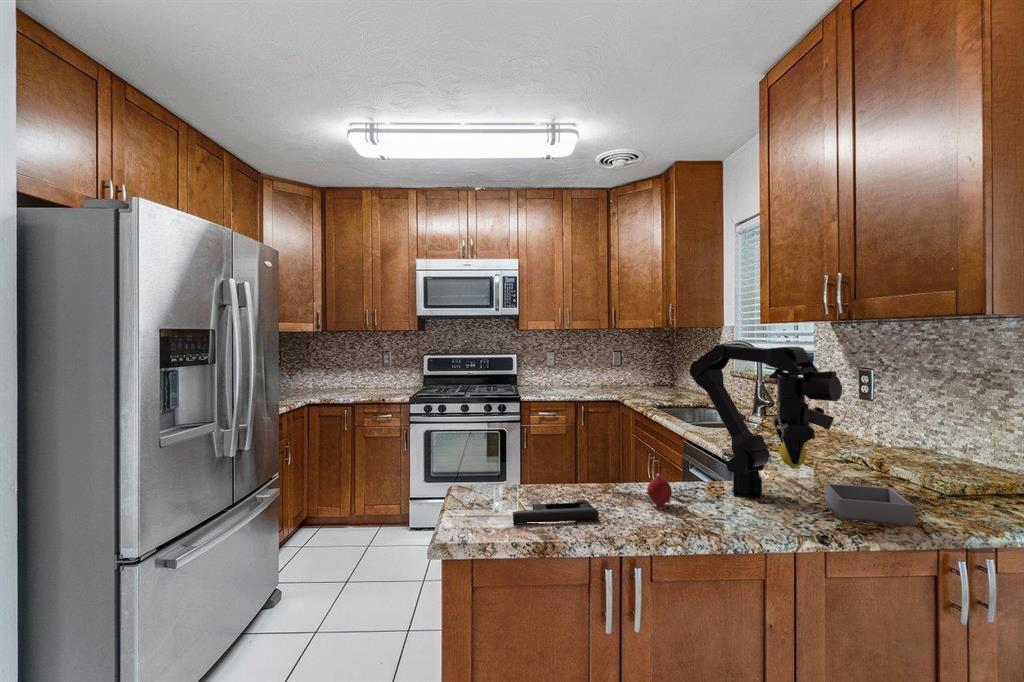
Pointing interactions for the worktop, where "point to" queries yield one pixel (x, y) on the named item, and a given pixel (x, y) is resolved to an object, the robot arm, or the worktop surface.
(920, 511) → the worktop surface
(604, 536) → the worktop surface
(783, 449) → the lemon
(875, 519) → the box
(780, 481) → the worktop surface
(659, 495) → the onion
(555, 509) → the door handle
